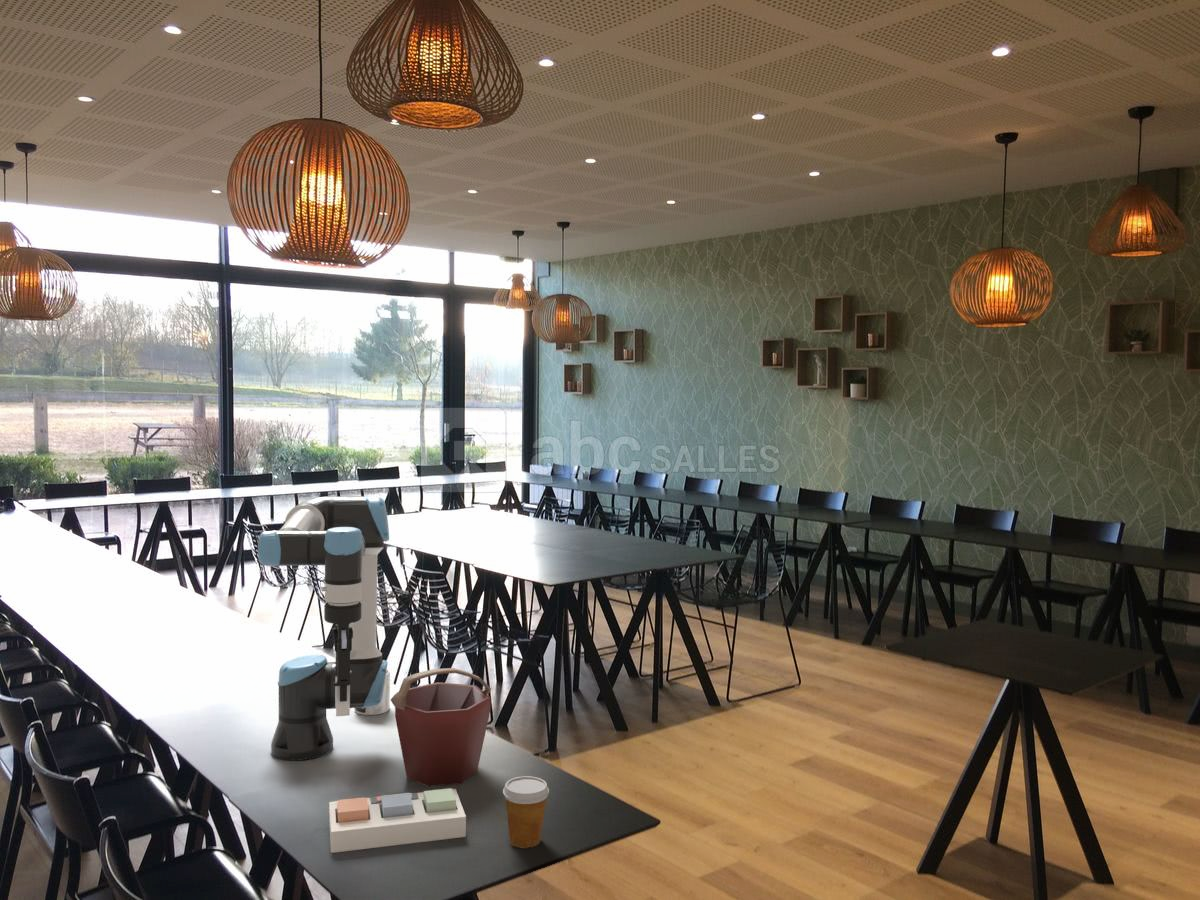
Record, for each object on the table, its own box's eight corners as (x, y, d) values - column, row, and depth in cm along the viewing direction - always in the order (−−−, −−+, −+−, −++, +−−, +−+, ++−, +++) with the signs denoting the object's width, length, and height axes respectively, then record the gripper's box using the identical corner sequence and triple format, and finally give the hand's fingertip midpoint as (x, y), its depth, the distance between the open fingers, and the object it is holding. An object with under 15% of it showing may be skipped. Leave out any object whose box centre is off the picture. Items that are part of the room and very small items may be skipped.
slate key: (380, 807, 200) (381, 795, 200) (409, 803, 202) (409, 792, 202) (383, 819, 195) (383, 807, 194) (412, 816, 196) (412, 804, 196)
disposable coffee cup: (548, 830, 200) (549, 775, 199) (547, 852, 190) (548, 794, 189) (503, 830, 199) (504, 775, 198) (500, 852, 190) (501, 794, 189)
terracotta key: (337, 811, 198) (337, 800, 197) (366, 808, 199) (366, 797, 199) (338, 824, 192) (338, 812, 192) (368, 821, 194) (368, 809, 193)
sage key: (423, 802, 203) (423, 791, 203) (451, 799, 205) (451, 788, 205) (427, 814, 197) (427, 803, 197) (455, 811, 199) (455, 799, 199)
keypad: (329, 821, 201) (329, 800, 201) (455, 807, 209) (455, 786, 209) (330, 852, 188) (331, 829, 188) (465, 836, 196) (466, 814, 196)
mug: (396, 705, 275) (396, 667, 275) (383, 719, 263) (383, 680, 263) (361, 703, 276) (361, 666, 276) (346, 717, 264) (346, 678, 264)
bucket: (391, 794, 215) (392, 687, 214) (386, 757, 236) (387, 659, 235) (497, 785, 222) (499, 681, 220) (483, 750, 243) (485, 654, 241)
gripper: (323, 593, 204) (323, 698, 206) (325, 612, 187) (324, 727, 189) (359, 591, 207) (358, 695, 208) (364, 610, 189) (363, 724, 191)
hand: (342, 710), depth 198 cm, fingers open, 5 cm apart
